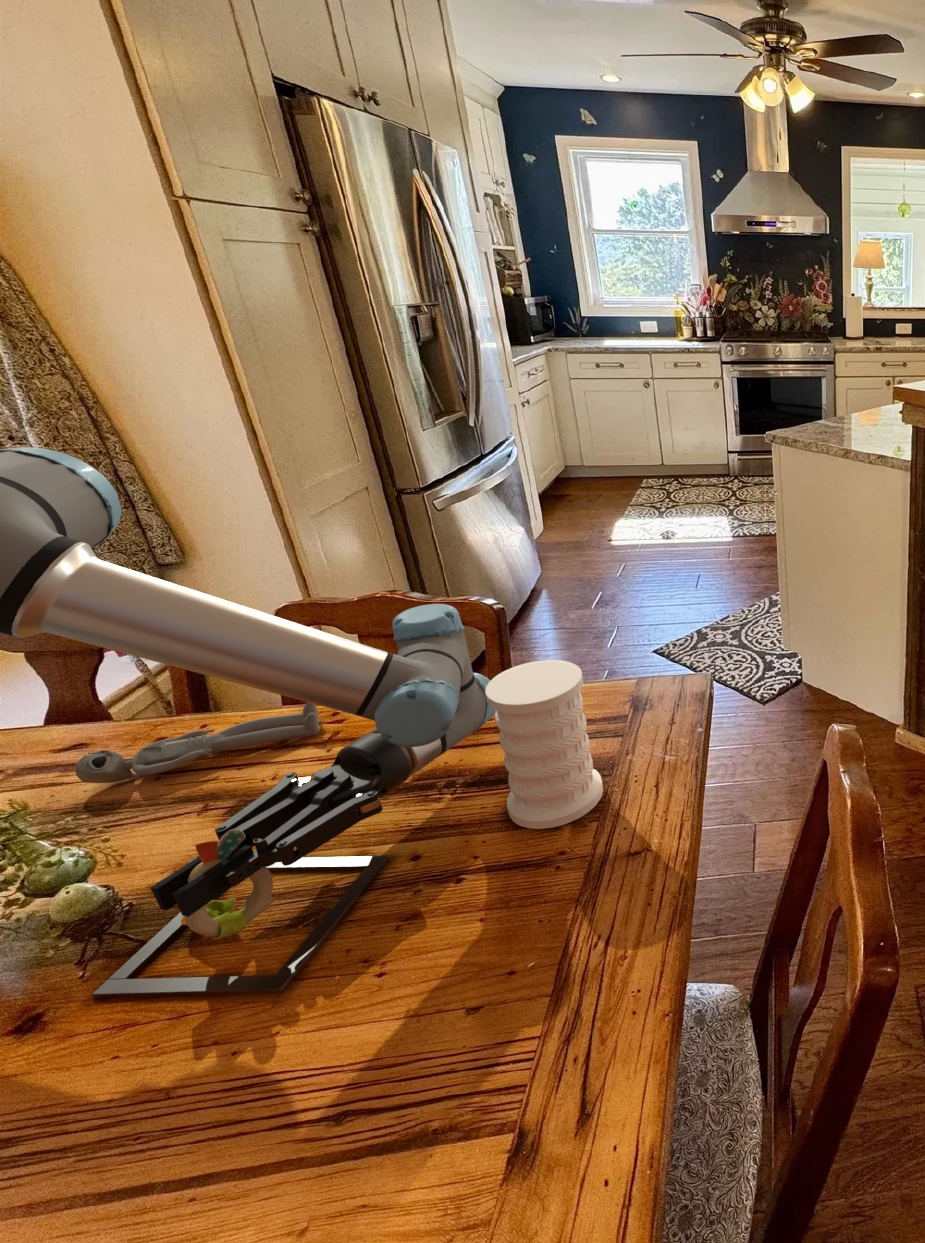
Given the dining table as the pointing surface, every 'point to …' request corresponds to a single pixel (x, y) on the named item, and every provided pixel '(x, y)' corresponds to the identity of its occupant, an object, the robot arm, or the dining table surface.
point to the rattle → (219, 914)
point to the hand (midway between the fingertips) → (169, 902)
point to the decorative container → (544, 743)
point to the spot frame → (128, 987)
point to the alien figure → (195, 747)
